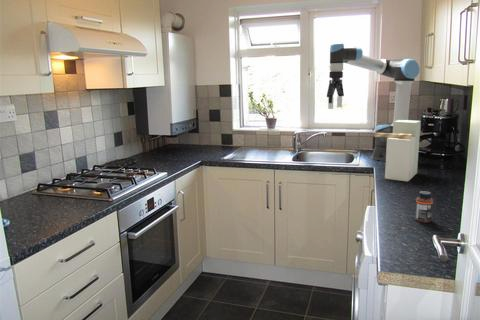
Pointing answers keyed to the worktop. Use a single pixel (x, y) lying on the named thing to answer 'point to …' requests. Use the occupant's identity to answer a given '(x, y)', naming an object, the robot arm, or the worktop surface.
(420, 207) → the supplement bottle
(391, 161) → the tall pale green block
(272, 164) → the worktop surface
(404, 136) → the t-shaped wooden block
